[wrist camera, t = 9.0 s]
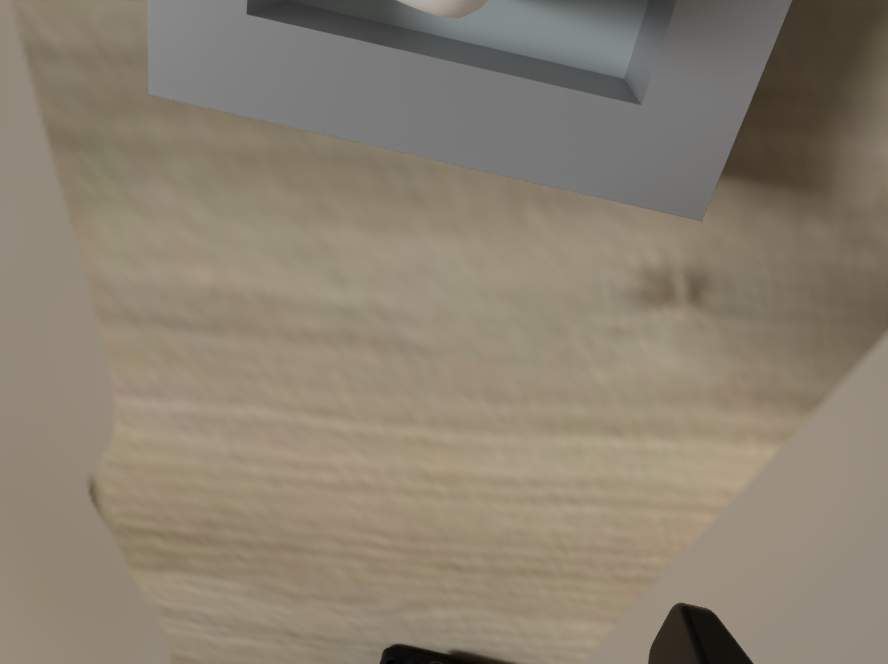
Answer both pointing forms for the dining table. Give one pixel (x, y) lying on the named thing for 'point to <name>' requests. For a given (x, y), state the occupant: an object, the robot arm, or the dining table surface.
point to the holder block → (490, 83)
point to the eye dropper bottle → (446, 7)
